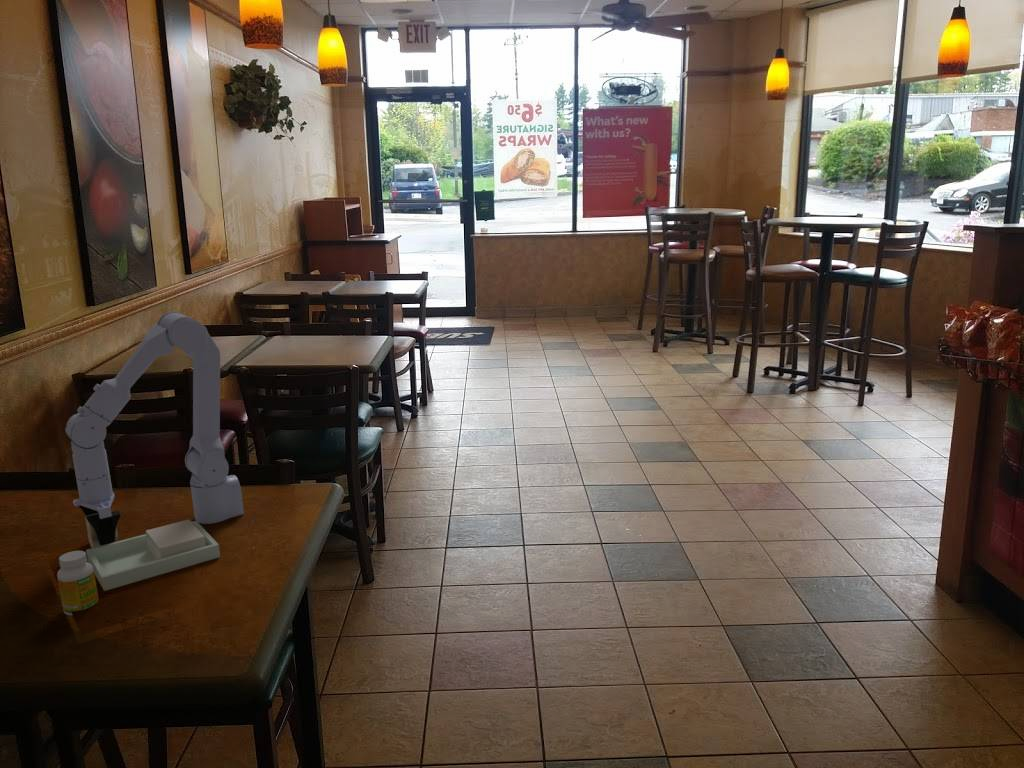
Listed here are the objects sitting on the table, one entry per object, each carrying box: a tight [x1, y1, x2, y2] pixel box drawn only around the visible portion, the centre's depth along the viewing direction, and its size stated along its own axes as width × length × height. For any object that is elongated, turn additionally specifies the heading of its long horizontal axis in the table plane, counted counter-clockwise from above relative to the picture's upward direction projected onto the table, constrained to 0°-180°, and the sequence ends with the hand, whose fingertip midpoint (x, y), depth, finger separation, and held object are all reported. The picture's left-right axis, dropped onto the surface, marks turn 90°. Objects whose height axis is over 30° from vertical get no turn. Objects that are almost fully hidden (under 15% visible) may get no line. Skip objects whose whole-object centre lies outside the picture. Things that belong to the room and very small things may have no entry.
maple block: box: [84, 513, 120, 549], centre depth 158 cm, size 4×4×7 cm
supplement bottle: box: [56, 550, 99, 617], centre depth 136 cm, size 5×5×10 cm
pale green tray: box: [85, 520, 221, 592], centre depth 152 cm, size 20×14×4 cm
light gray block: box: [145, 519, 206, 560], centre depth 154 cm, size 8×10×4 cm
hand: (103, 540), depth 159 cm, fingers open, 7 cm apart
